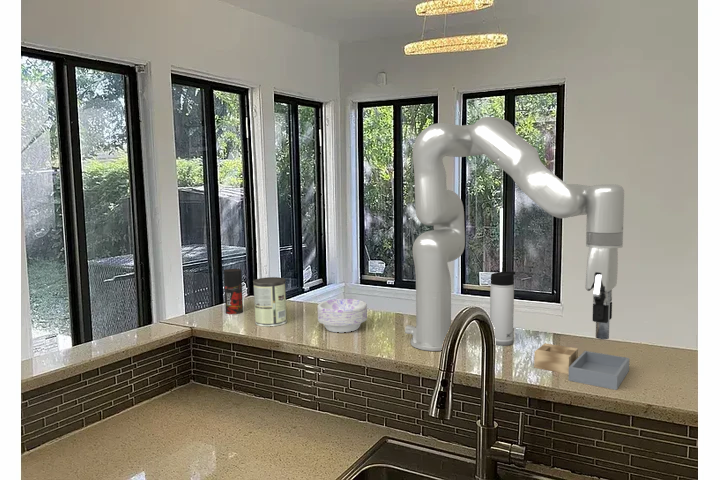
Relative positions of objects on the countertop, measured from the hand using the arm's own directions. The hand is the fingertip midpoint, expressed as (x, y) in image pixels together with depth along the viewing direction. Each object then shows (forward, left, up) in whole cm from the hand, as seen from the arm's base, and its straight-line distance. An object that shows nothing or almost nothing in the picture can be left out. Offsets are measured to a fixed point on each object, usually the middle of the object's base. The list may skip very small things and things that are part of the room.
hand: (602, 319), depth 123 cm
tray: (0, 0, -13) cm, 13 cm away
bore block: (-10, +1, -13) cm, 17 cm away
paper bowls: (-74, -1, -13) cm, 75 cm away
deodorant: (-119, -5, -13) cm, 120 cm away
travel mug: (-28, +12, -13) cm, 33 cm away
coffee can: (-98, -8, -13) cm, 99 cm away
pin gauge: (0, 0, -4) cm, 4 cm away
